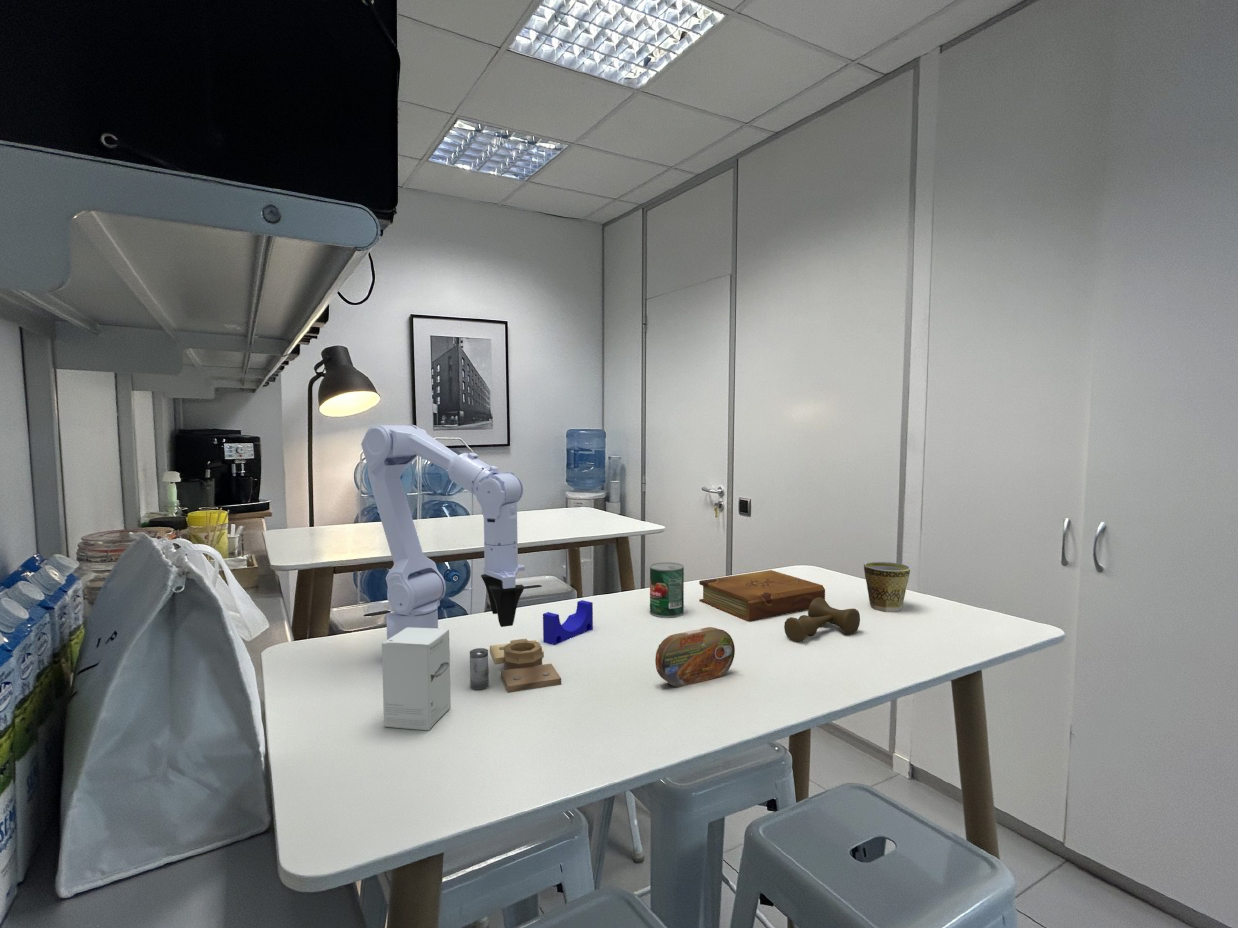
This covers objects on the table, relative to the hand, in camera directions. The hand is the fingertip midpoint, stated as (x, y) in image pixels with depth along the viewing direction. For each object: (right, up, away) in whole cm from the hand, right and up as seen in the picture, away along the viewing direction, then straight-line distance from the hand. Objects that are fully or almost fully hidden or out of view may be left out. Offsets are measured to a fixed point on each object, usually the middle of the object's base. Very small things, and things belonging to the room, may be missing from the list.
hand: (502, 619), depth 109 cm
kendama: (+63, -8, +21) cm, 67 cm away
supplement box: (-10, -11, -16) cm, 22 cm away
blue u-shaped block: (+9, -9, +20) cm, 24 cm away
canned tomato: (+32, -7, +35) cm, 48 cm away
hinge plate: (+4, -9, 0) cm, 10 cm away
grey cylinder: (-3, -10, -5) cm, 12 cm away
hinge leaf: (+2, -9, +7) cm, 11 cm away
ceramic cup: (+83, -7, +39) cm, 92 cm away
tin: (+33, -10, -3) cm, 35 cm away
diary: (+55, -7, +41) cm, 69 cm away
